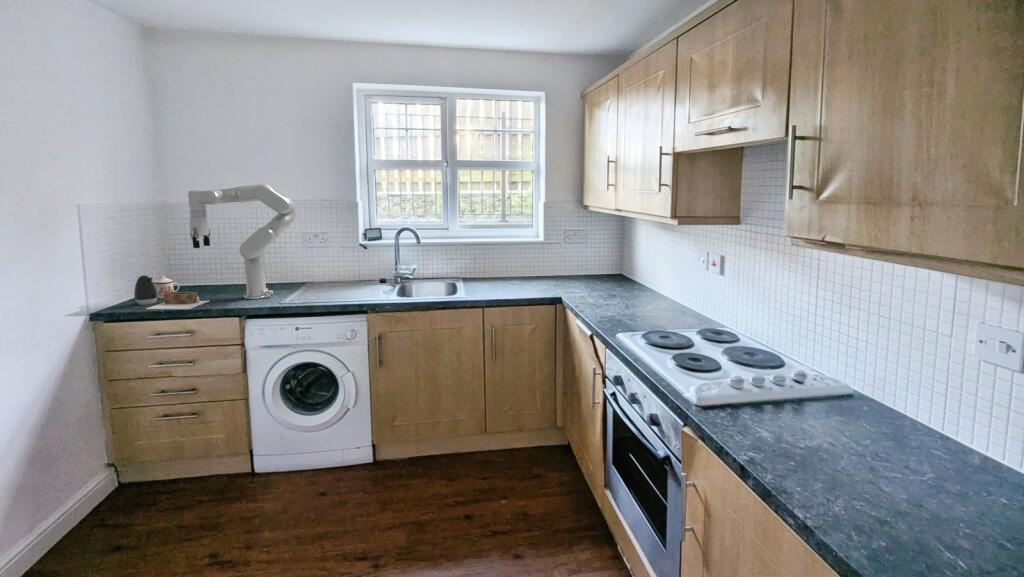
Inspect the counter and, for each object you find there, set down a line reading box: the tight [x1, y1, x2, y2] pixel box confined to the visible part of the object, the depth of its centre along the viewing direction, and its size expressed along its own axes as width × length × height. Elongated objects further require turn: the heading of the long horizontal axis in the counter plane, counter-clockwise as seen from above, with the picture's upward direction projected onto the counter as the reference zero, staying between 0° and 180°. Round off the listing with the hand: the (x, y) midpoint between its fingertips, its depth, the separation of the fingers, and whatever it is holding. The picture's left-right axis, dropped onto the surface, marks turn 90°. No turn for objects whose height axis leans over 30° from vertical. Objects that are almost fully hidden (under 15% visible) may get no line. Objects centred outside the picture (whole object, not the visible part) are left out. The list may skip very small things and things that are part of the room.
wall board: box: [145, 296, 210, 310], centre depth 282 cm, size 22×19×4 cm
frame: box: [163, 291, 199, 304], centre depth 286 cm, size 14×6×5 cm, turn 90°
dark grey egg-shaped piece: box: [133, 274, 158, 306], centre depth 284 cm, size 10×10×15 cm
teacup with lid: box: [153, 275, 180, 300], centre depth 303 cm, size 12×9×12 cm
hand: (201, 246), depth 292 cm, fingers open, 9 cm apart
